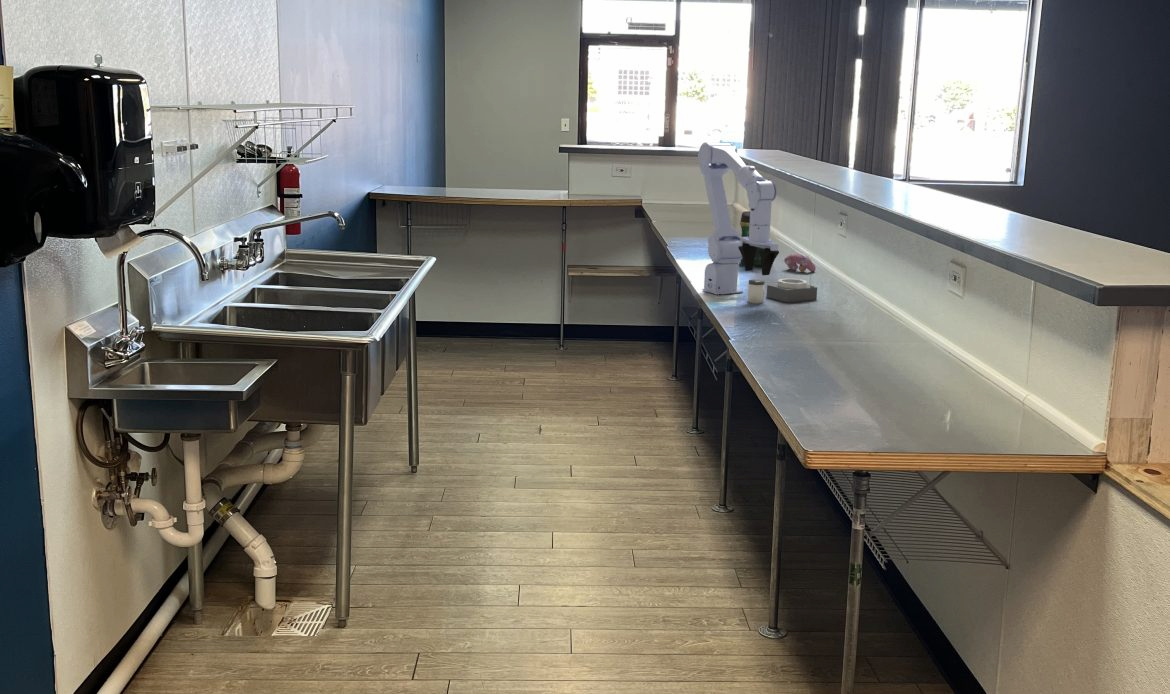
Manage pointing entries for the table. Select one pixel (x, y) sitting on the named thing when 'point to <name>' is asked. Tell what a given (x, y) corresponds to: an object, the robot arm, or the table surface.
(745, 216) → the coffee jar
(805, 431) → the table surface
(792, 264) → the pink animal figurine
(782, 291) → the grey square base
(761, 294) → the white lens
